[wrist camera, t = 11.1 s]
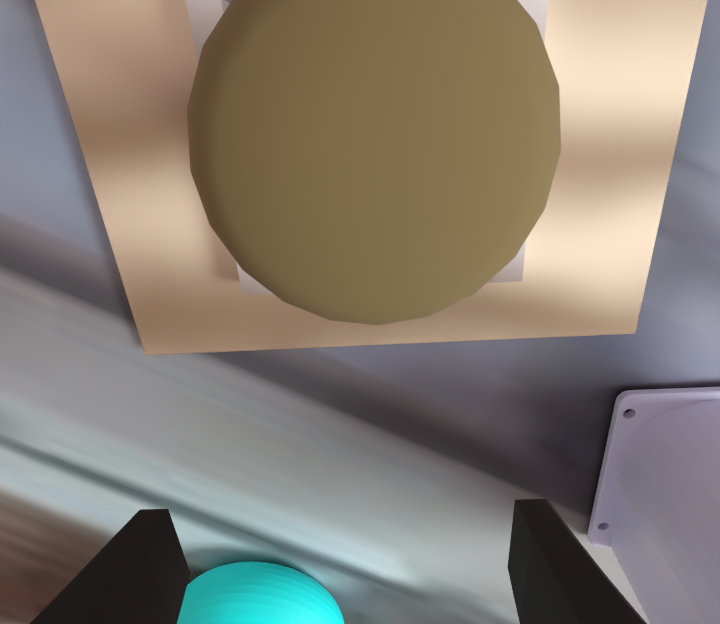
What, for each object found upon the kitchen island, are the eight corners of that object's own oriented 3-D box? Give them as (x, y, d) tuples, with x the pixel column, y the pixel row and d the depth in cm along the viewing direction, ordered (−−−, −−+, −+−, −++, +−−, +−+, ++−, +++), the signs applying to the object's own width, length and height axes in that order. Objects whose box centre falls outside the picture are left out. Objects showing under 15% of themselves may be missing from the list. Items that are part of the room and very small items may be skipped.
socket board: (627, 326, 19) (651, 348, 17) (151, 347, 20) (131, 370, 18) (740, -220, 12) (797, -268, 10) (3, -143, 13) (-49, -175, 11)
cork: (242, 102, 15) (-4, 131, 5) (389, -43, 13) (436, -413, 3) (360, 242, 17) (341, 454, 7) (501, 131, 15) (735, 212, 5)
